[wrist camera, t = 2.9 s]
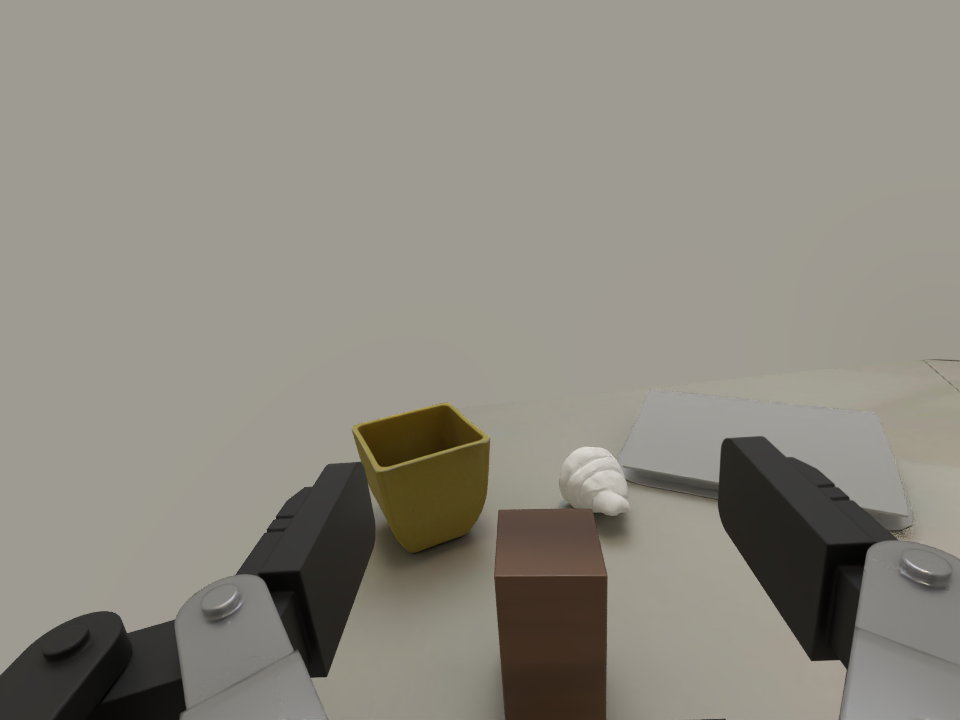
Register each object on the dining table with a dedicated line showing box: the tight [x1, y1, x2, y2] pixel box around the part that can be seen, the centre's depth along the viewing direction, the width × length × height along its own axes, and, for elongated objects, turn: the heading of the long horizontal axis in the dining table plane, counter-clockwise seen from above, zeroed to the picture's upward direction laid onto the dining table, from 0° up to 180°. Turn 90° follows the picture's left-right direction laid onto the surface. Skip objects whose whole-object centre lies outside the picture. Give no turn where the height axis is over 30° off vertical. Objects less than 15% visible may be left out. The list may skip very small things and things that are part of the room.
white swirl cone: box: [559, 447, 631, 516], centre depth 41 cm, size 6×6×5 cm
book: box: [617, 389, 913, 530], centre depth 48 cm, size 15×23×4 cm, turn 63°
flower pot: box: [352, 403, 490, 553], centre depth 41 cm, size 9×9×9 cm
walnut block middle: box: [494, 508, 607, 720], centre depth 26 cm, size 5×5×10 cm
